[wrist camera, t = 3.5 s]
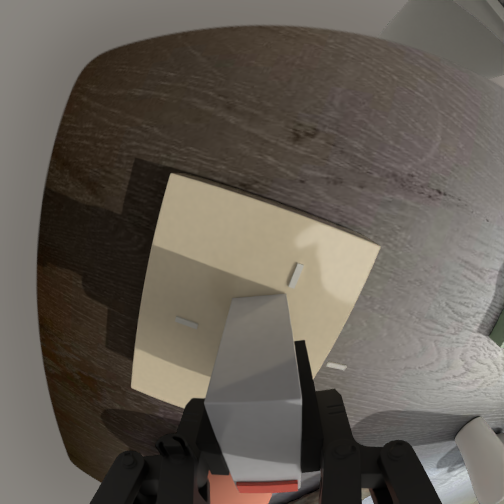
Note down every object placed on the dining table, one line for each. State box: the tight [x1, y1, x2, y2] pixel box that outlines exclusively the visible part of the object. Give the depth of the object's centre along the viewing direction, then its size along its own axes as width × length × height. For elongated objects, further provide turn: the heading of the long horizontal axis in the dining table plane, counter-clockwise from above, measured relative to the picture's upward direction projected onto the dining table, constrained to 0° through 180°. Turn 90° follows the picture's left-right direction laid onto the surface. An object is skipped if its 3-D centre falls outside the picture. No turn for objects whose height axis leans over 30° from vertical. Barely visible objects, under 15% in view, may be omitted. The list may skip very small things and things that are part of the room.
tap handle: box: [204, 294, 302, 493], centre depth 12 cm, size 7×3×8 cm, turn 6°
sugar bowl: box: [208, 470, 272, 504], centre depth 20 cm, size 12×14×10 cm
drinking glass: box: [455, 417, 504, 504], centre depth 16 cm, size 7×7×15 cm
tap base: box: [131, 173, 380, 408], centre depth 17 cm, size 16×14×3 cm
